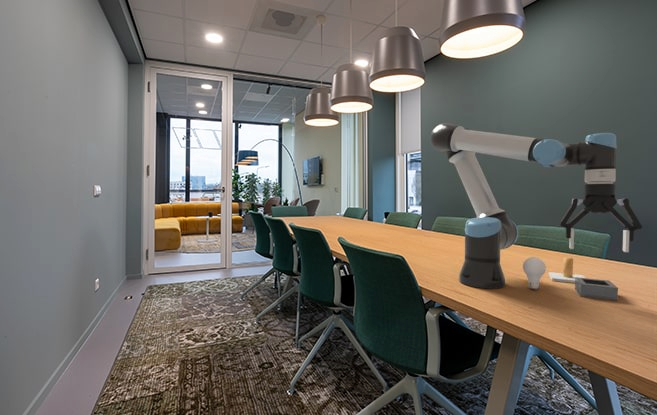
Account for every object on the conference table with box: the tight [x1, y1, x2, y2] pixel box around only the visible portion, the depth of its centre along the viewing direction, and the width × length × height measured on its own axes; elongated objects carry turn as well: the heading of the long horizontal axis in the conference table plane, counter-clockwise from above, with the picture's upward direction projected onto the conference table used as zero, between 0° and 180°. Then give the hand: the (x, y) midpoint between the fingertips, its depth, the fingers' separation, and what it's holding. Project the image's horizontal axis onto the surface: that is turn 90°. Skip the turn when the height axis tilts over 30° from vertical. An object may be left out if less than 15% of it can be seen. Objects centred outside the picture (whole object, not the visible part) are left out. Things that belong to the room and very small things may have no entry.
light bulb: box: [522, 257, 547, 291], centre depth 109 cm, size 7×7×11 cm
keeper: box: [548, 257, 586, 284], centre depth 122 cm, size 11×10×8 cm
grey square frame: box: [574, 277, 619, 302], centre depth 104 cm, size 9×9×4 cm
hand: (597, 250), depth 103 cm, fingers open, 13 cm apart
